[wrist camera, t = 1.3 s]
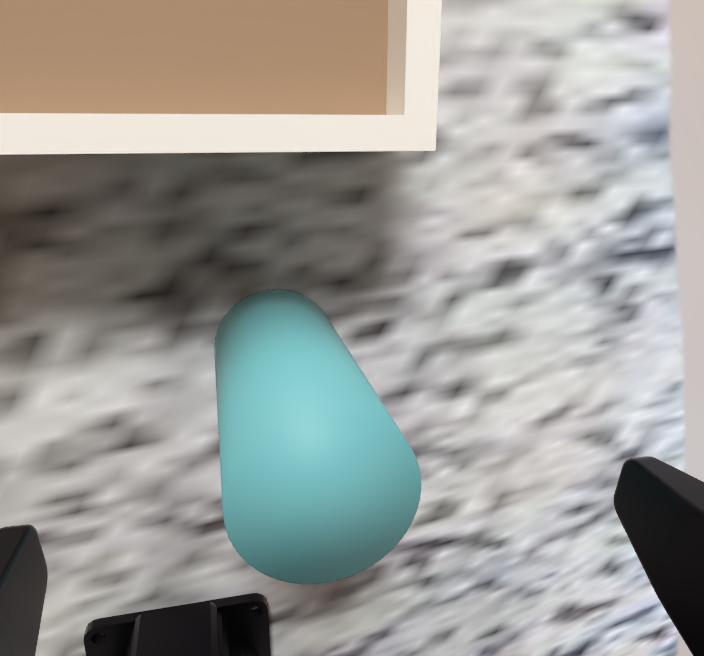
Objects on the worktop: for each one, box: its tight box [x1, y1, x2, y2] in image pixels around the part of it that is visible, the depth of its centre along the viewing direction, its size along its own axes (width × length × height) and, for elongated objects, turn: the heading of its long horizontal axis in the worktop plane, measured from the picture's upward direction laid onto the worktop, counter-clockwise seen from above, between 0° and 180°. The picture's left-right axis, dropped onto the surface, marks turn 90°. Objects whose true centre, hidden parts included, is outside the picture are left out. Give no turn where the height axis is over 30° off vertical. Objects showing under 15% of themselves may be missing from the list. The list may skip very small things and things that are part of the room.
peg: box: [215, 290, 421, 584], centre depth 16 cm, size 4×4×9 cm
